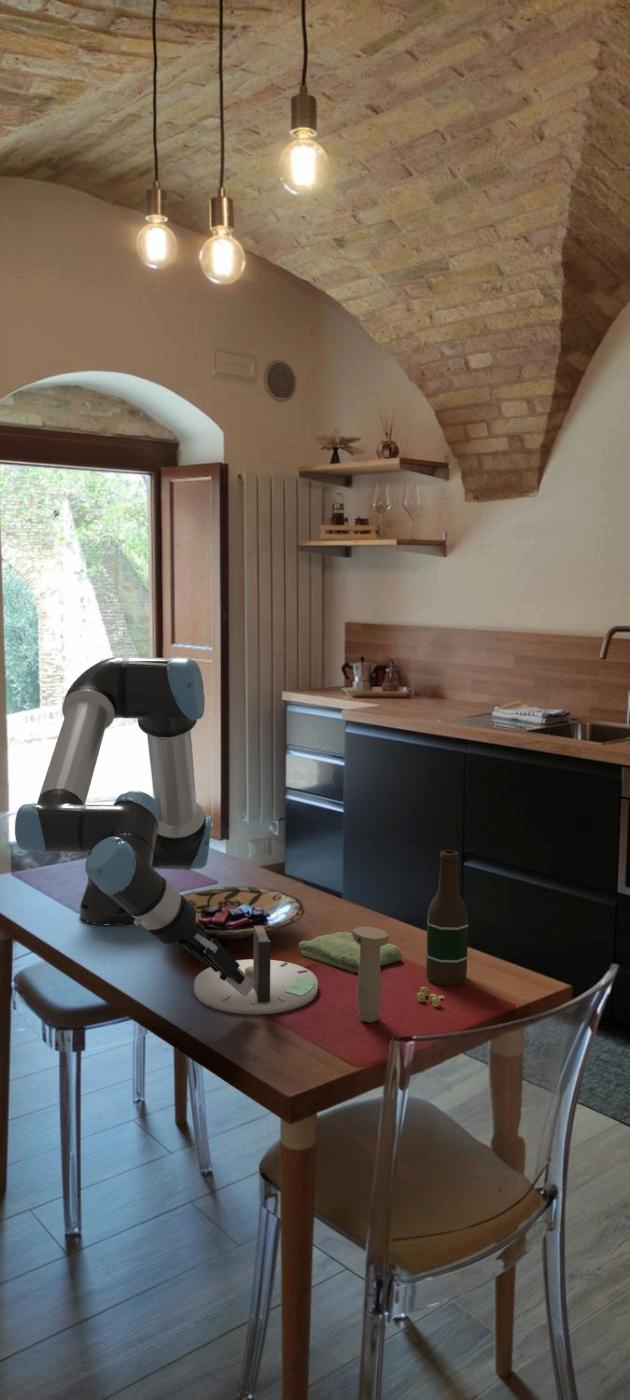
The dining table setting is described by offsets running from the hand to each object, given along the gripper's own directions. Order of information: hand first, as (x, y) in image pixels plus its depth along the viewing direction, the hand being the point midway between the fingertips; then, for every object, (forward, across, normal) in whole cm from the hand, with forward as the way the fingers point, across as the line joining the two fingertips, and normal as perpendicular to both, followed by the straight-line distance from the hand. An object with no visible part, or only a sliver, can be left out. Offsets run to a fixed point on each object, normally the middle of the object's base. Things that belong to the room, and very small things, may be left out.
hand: (248, 988), depth 178 cm
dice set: (+23, +16, +16) cm, 32 cm away
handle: (+13, +15, +7) cm, 21 cm away
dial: (+8, -7, +2) cm, 11 cm away
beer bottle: (+30, +11, +24) cm, 39 cm away
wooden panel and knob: (+5, -3, +2) cm, 6 cm away
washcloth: (+26, -9, +19) cm, 33 cm away
